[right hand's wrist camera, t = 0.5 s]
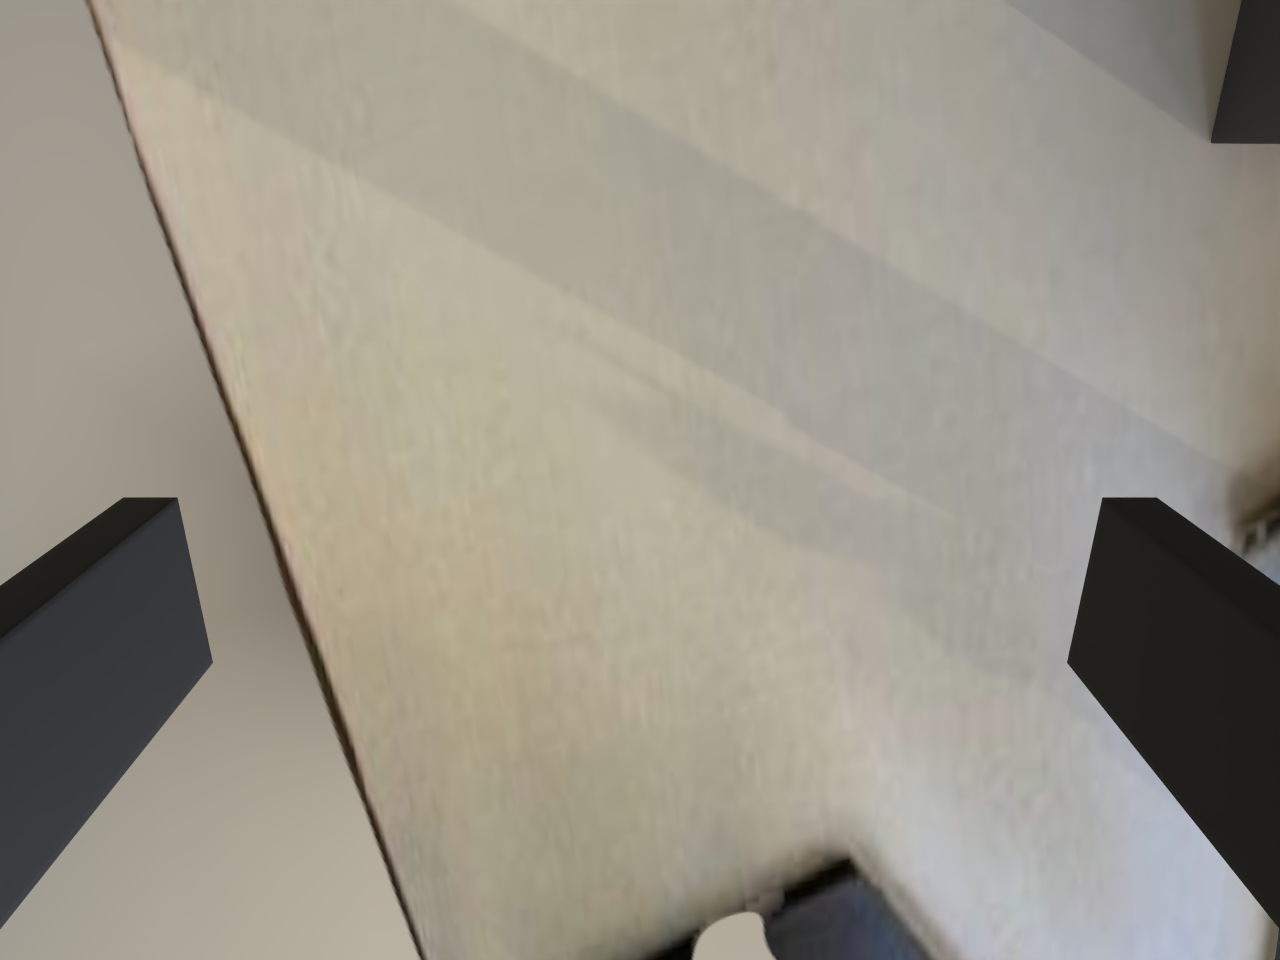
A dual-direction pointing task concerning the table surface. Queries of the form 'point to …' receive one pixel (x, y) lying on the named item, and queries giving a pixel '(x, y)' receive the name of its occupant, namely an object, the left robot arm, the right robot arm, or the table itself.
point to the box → (1252, 78)
